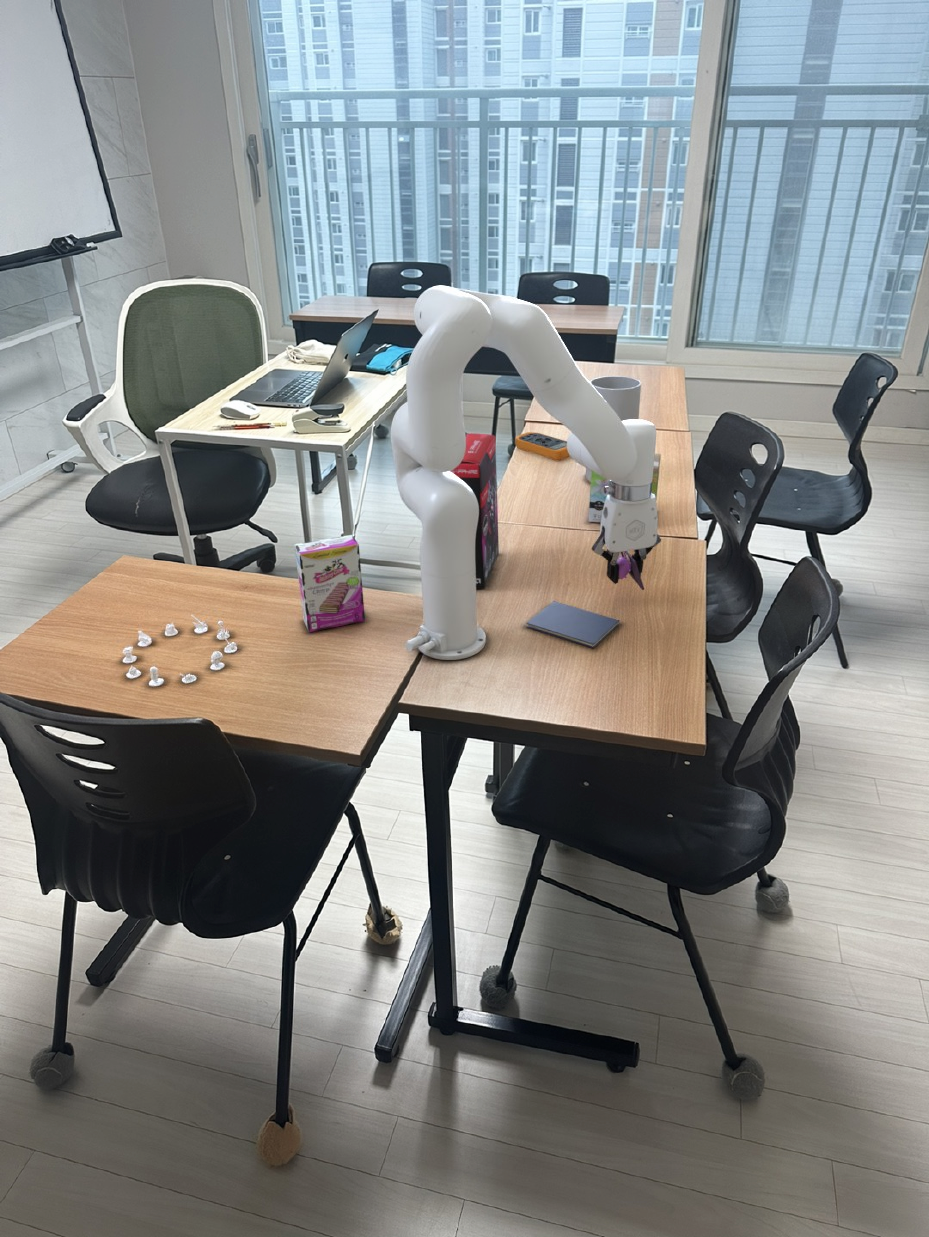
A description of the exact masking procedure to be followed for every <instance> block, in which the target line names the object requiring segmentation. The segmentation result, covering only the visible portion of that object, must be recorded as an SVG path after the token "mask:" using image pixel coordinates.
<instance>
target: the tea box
mask: <svg viewBox="0 0 929 1237" xmlns="http://www.w3.org/2000/svg"><path fill="white" fill-rule="evenodd" d="M661 458H662V454H661V453H655V457H654V468H653V479H652V492H651V493H652V494H654V495H655V498H656V500H658V499H657V498H658V488H659V478H660V477H659V476H660V467H661ZM609 482H610V480H607V479H605V478H603V477H601V476H600V475H598V474H596V473H595V472H593V471H591V482H590V487H589V502H588V523H601V517H602V512H603V507H604V503H605V500H606V497H607V495H610V494H605V493H604V487H606V486H608V485H609Z"/></svg>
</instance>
